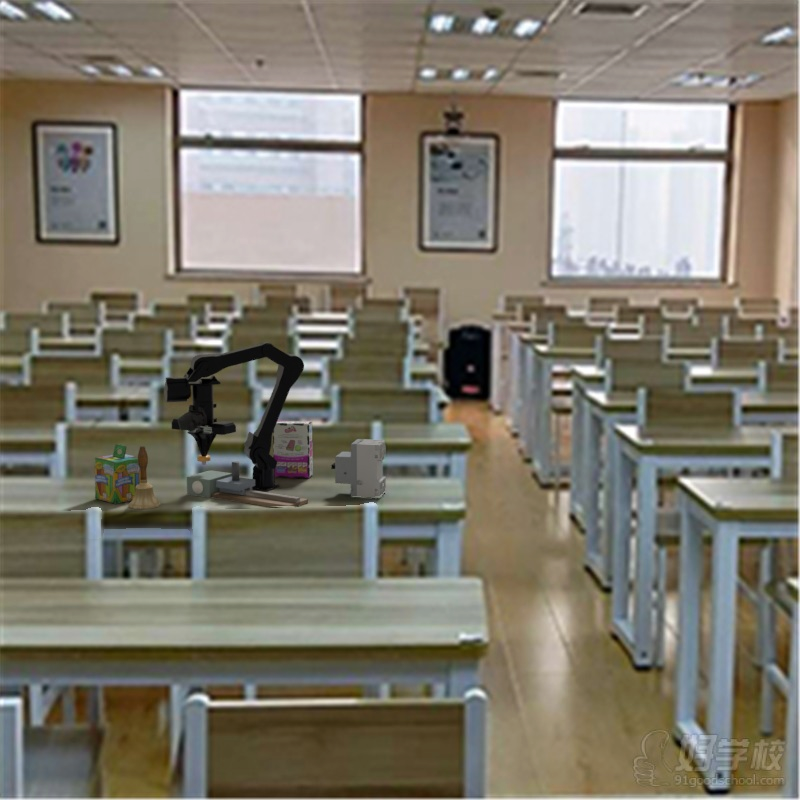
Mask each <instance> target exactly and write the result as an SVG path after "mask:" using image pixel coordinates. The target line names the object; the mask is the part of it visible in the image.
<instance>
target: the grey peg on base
mask: <svg viewBox="0 0 800 800" xmlns="http://www.w3.org/2000/svg"><path fill="white" fill-rule="evenodd" d="M231 473H232V476H231V477H228V478H224V479H221V480H217V481H216V487H218V488H220V492H225V493H232V494H238V495H245V489H247V490H253V488H252V487H253V486H255V479H253V478H247V477H241V476H240V461H232V462H231Z"/></svg>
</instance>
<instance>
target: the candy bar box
mask: <svg viewBox="0 0 800 800" xmlns="http://www.w3.org/2000/svg"><path fill="white" fill-rule="evenodd" d="M272 445H273V446H272V448H273V450H272V451H273V452H272V453H273V455H272V457H273V458H274V459H275V460H276V461H277V465H276V468H275V478H290V479H291V478H292V479H293V478H295V479H310V478H311V477H313V475H314V467H313V465H314V464H313V461H314V460H313V457H314V456H313V454H314V453H313V421H302V420H301V421H300V420H299V421H298V420H278V421H277V423H276V426H275V428H274V431H273V433H272Z"/></svg>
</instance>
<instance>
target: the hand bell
mask: <svg viewBox="0 0 800 800" xmlns="http://www.w3.org/2000/svg"><path fill="white" fill-rule="evenodd" d="M137 457H138V464H139V467H140V477H141V478H140V479H141V483H140V484H139V485H137V486H136V487H135V495H134V498H133V500H131V501H129V503H128V507H129V508H130V509H134V510H150V509H155V508H158V507H160V506H161V502H160V500H158V499H157V498H156V496H155V492H154V486H153V485H152V484H150V483H149V482H148V477H147V467H148V464H149V462H148V461H149V458H148V457H149V456H148V453H147V450H146V447H145V446H139V449H138V454H137Z"/></svg>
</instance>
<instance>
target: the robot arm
mask: <svg viewBox="0 0 800 800" xmlns="http://www.w3.org/2000/svg"><path fill="white" fill-rule="evenodd" d="M264 358H267V359H268V360H270V361H272V362H273V363H275V364H276V365H277V370H276V378H275V380H276V381H275V384H274V387H273V389H272V392H271V395H270V397H269V400H268V403H267V405H266V407H265V409H264V412H263V414H262V417H261V419H260V422H259V424H258V427H257V429H256V430H255V431H254V433H252V432H251V431H249V432H248V434H247V438H246V440H245V442H244V443H243V446H244V455H245V456H246V457H247V458H248V459H249V461H250V460H251V462H252V465H254V466H253V467H252V479H255V486H253V487H252V490H259V491H260V490H262V491H270V490H272V489H275V488H276V489H277V488H279V487H280V484H278V483H276V477H275V468H276V465H277V461H276V460H275V459H274V458H273V455H271V448H272V443H273V431H274V428H275V426H276V423H277V421H279V418H280V417H281V416H280V415H281V413H282V410H283V407H284V406H285V402H286V400H287V398H288V395H289V393H290V390H291V388H292V387H293V386H294V385H295V384H296V382H297V381H298V379H300V376H301V375H302V373H303V371H304V369H305V364H304V360H303V359H302V358H301V357H299V356H298V355H295V354H293V353H286V352H284V351H282V350H281V349H279V348H277V347H275V346H274V345H273V344H272V343H270V342H268V341H263V342H260V343H258V344H255V345H251V346H246V347H241V348H238V349H234V350H230V351H227V352H222V353H206V354H205V353H203V354H202V353H201V354H197V355H195V356H194V357H192V359H191V360H190V363H189V364H190V365H189V368H188V370H187V371H186V372H185V374H184V375H183V376H182V377H170V376H169V377H168V376H167V377H165V383H164V388H163V393H164V394H163V395H164V401H165V403H181V402H183V403H184V402H185V403H186V402H187V401H188V400H189V399H190V398H191V396H192V398H191V399H192V401H191V402H192V404H189V406H188V412H185V413H184V414H183V415H181V416H180V417H176V418H173V420H172V422H171V429H172V430H179V431H187V434H189V435H191V436H192V437H193V438H194V441H195V442H196V445H197V447H198V450H199V452H200V455H202V456H206V455H208V453H209V451H210V449H211V445H212V444H213V442H214V440H215V438H216V436H217V435H219V436H220V435H221V436H223V435H224V436H225V435H228V434H233V433H236V432H237V431H236V430H237V428H236V427H237V425H236V424H235V422H234V421H226V420H224V421H219V422H217V420H218V419H217V417H214V416H215V413H214V411H215V410H214V409H216V408H217V403H214V386H215V385H221V381H220V380H218V379H217V377H216V376H215V374H217V373H220V372H221V371H222V370H225V369H226V368H229V367H230V368H231V367H233V366H237V365H241V364H244V363H248V362H253V361H256V360H260V359H264Z"/></svg>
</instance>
